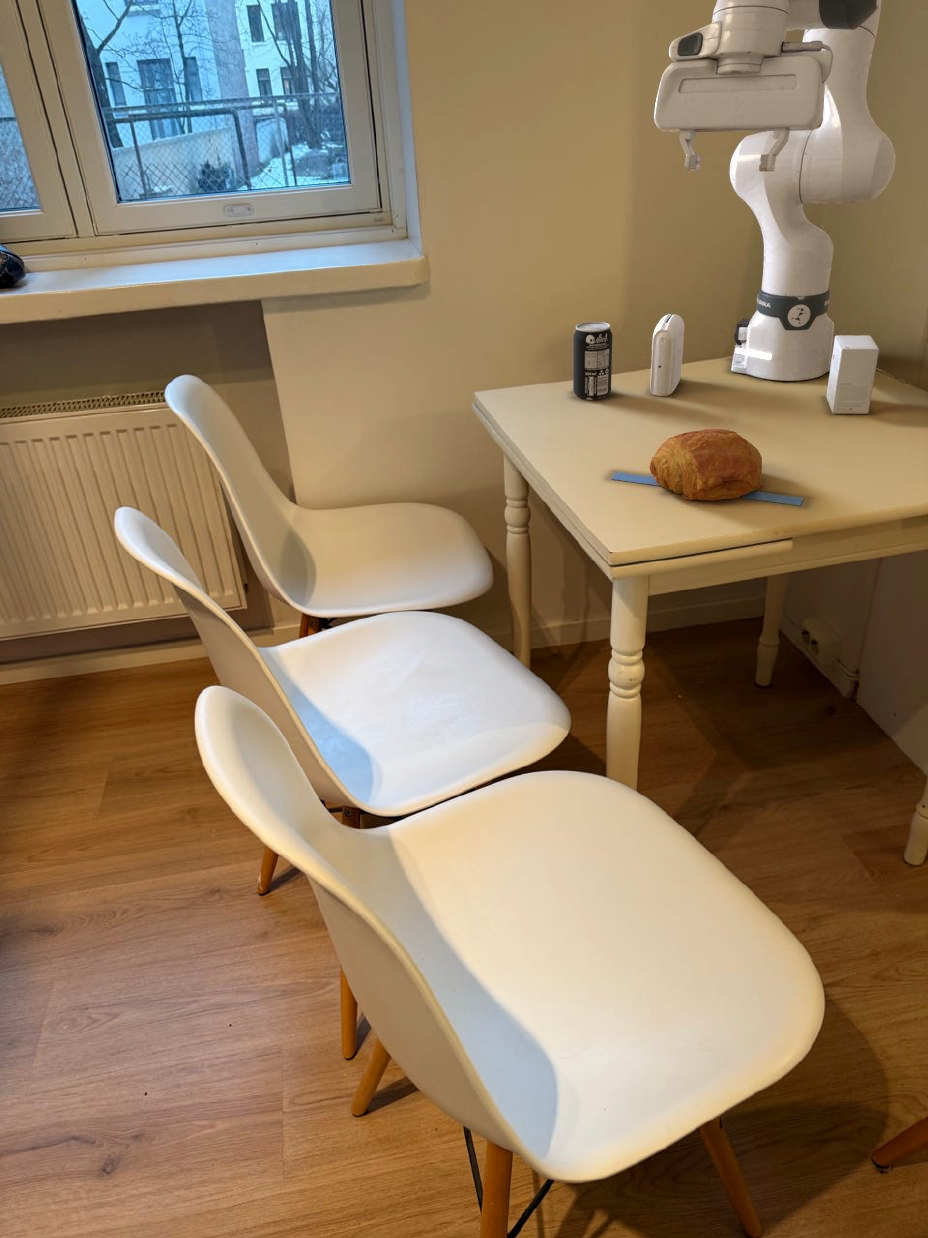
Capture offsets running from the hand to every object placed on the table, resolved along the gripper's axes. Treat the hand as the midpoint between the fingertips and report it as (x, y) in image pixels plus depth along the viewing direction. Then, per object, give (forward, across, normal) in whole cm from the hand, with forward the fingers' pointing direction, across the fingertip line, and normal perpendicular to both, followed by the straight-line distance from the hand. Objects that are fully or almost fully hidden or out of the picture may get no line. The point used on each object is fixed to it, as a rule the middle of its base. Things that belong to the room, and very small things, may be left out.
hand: (728, 171), depth 117 cm
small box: (+31, -14, -38) cm, 51 cm away
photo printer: (+31, +17, -37) cm, 51 cm away
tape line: (+40, -3, +1) cm, 40 cm away
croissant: (+40, -3, -1) cm, 40 cm away
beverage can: (+33, +27, -29) cm, 52 cm away
